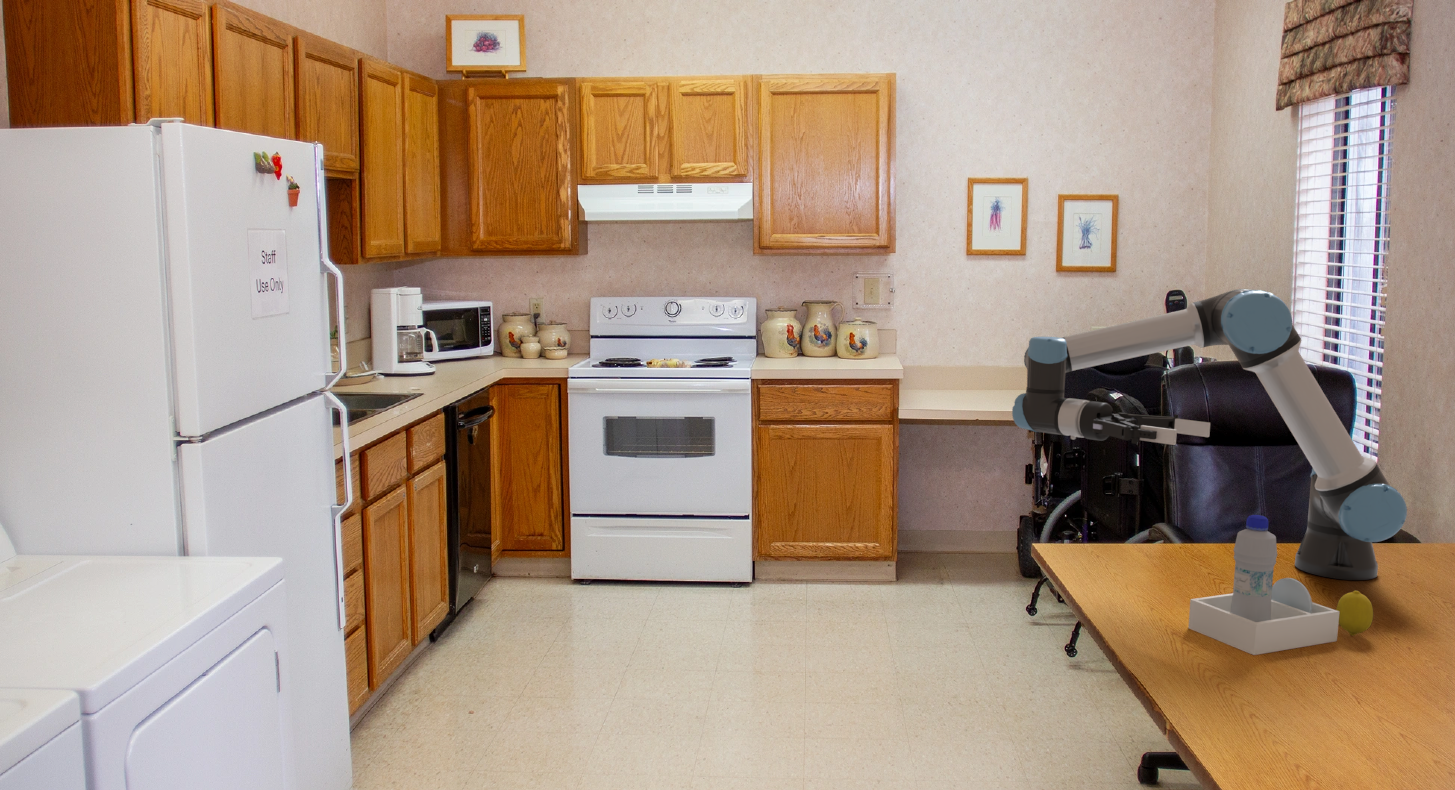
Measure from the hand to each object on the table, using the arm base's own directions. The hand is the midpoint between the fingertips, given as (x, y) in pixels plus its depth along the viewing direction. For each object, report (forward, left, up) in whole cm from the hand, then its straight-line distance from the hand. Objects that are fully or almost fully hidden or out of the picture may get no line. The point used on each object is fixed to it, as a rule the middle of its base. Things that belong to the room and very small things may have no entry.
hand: (1192, 433), depth 206 cm
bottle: (+4, +19, -31) cm, 36 cm away
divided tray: (+1, +19, -32) cm, 37 cm away
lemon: (-14, +25, -32) cm, 43 cm away
